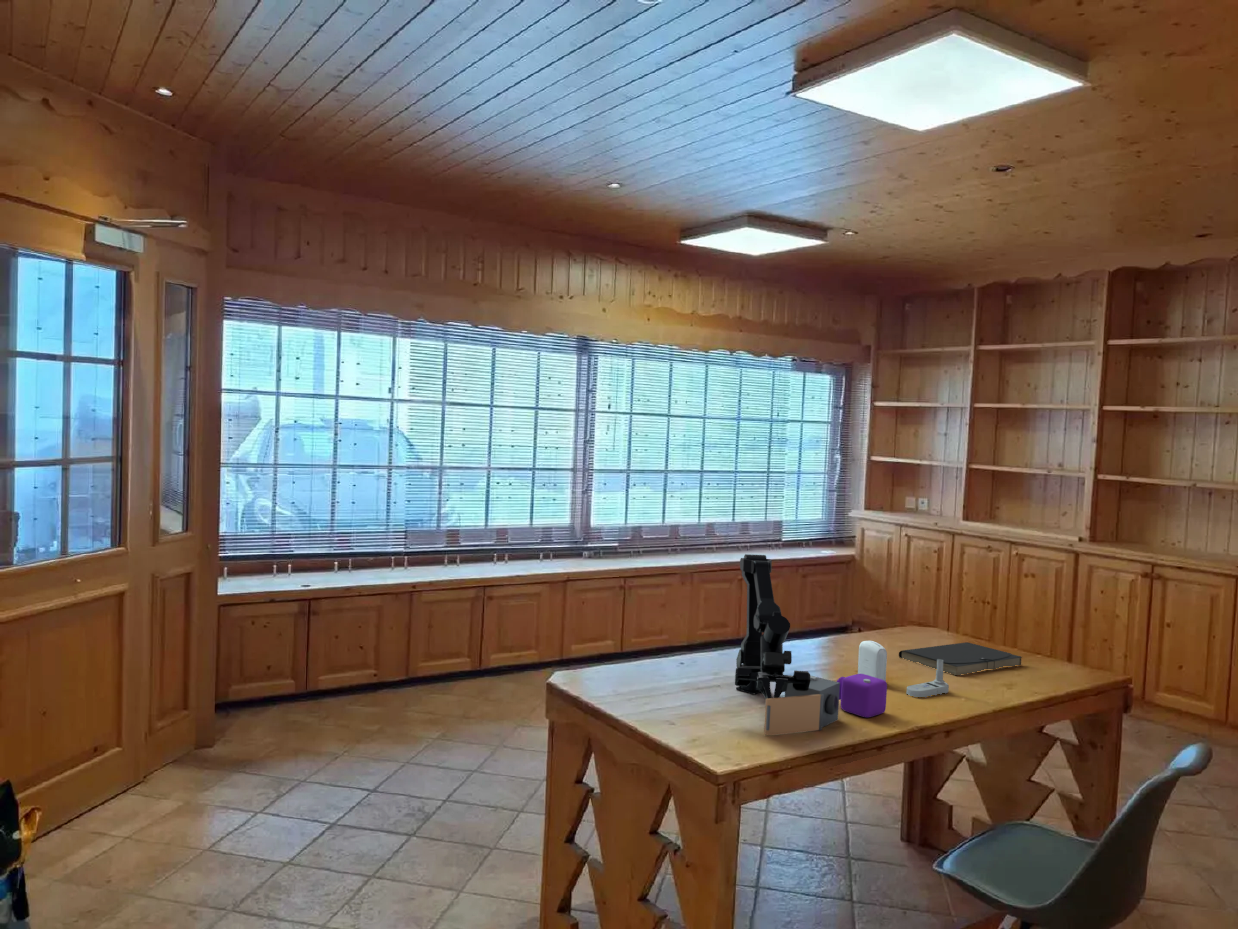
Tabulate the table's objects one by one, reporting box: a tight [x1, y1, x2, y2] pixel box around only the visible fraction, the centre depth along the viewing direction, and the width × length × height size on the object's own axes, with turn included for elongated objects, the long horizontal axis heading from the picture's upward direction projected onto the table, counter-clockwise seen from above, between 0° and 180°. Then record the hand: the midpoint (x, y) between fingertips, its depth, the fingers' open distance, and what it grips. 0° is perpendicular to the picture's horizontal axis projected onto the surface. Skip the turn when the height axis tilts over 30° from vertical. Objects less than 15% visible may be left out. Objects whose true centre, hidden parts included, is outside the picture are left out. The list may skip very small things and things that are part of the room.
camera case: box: [784, 674, 840, 728], centre depth 228 cm, size 11×11×11 cm
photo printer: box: [857, 640, 888, 682], centre depth 267 cm, size 10×4×12 cm, turn 20°
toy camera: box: [836, 673, 888, 719], centre depth 238 cm, size 11×14×10 cm
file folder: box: [898, 642, 1023, 676], centre depth 296 cm, size 33×4×24 cm
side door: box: [763, 694, 824, 736], centre depth 218 cm, size 17×2×9 cm, turn 111°
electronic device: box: [906, 659, 950, 698], centre depth 257 cm, size 5×10×15 cm
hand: (772, 709), depth 216 cm, fingers closed
